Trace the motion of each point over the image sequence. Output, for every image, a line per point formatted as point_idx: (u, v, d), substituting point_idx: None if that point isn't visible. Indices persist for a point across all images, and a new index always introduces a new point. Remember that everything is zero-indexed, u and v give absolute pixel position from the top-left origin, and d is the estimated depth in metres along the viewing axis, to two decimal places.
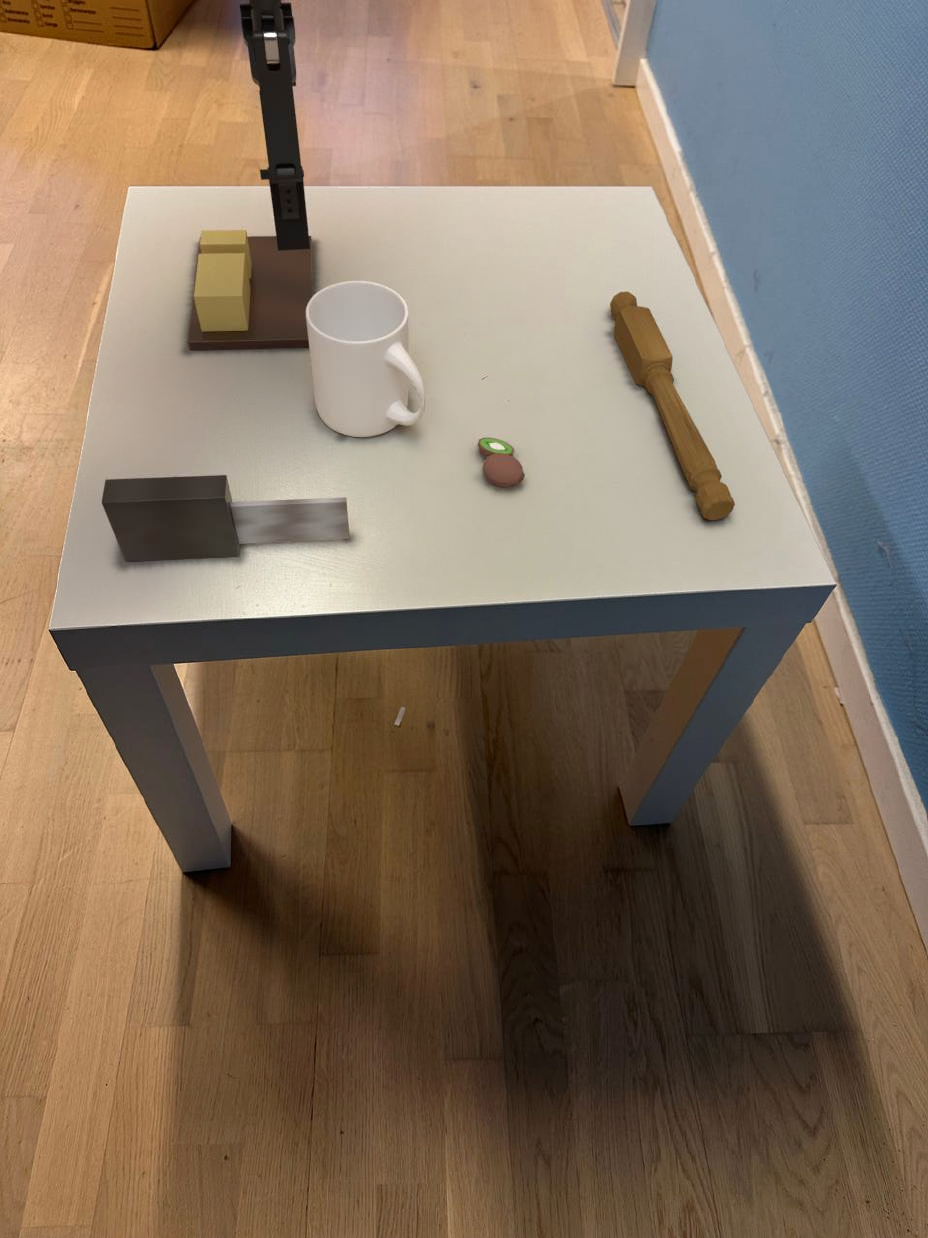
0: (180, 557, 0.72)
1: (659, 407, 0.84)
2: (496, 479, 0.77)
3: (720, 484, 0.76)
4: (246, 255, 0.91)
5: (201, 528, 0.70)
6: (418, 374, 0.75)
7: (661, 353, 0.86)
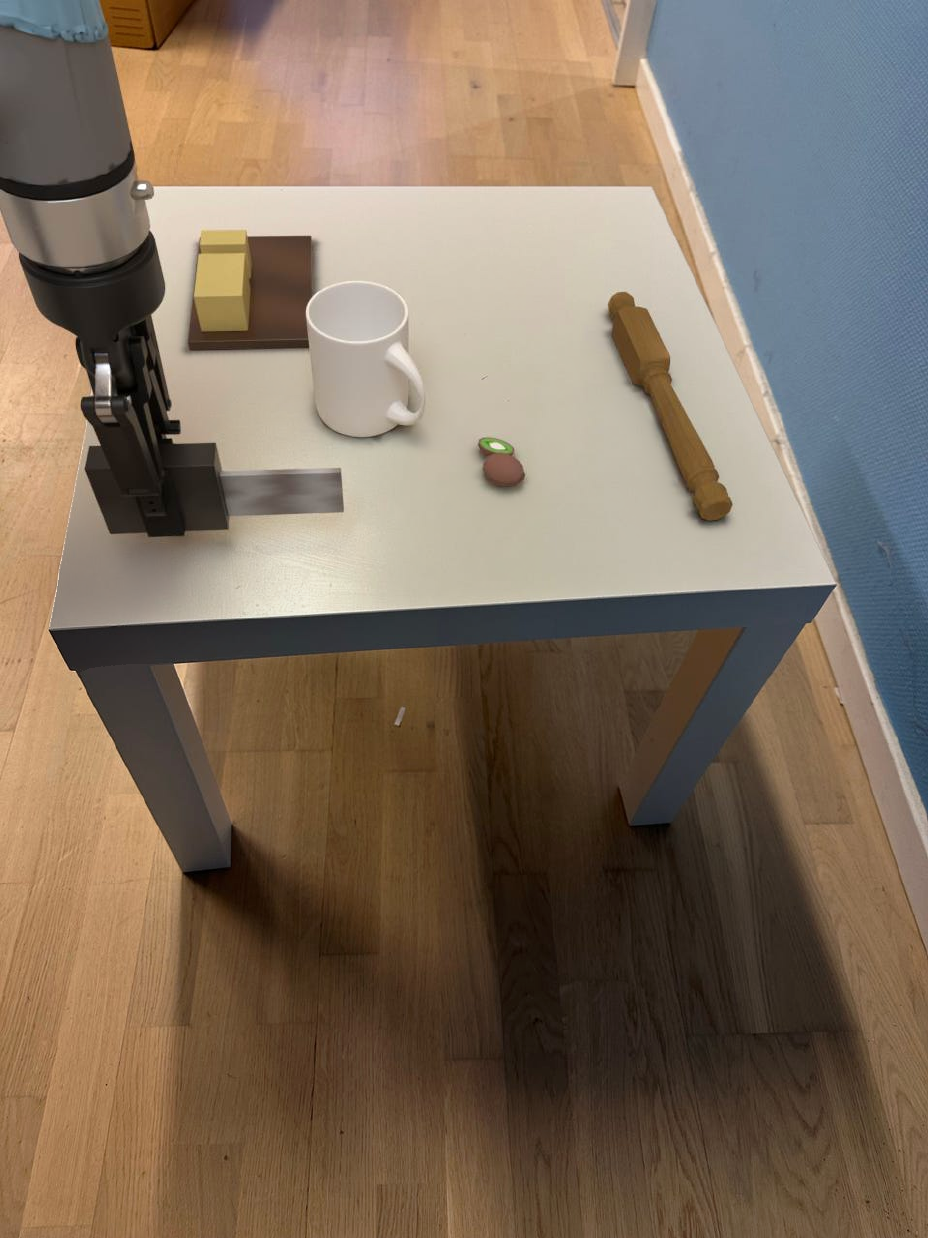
0: None
1: (657, 407, 0.84)
2: (496, 478, 0.77)
3: (718, 484, 0.76)
4: (246, 255, 0.91)
5: (189, 498, 0.67)
6: (418, 374, 0.75)
7: (659, 353, 0.86)
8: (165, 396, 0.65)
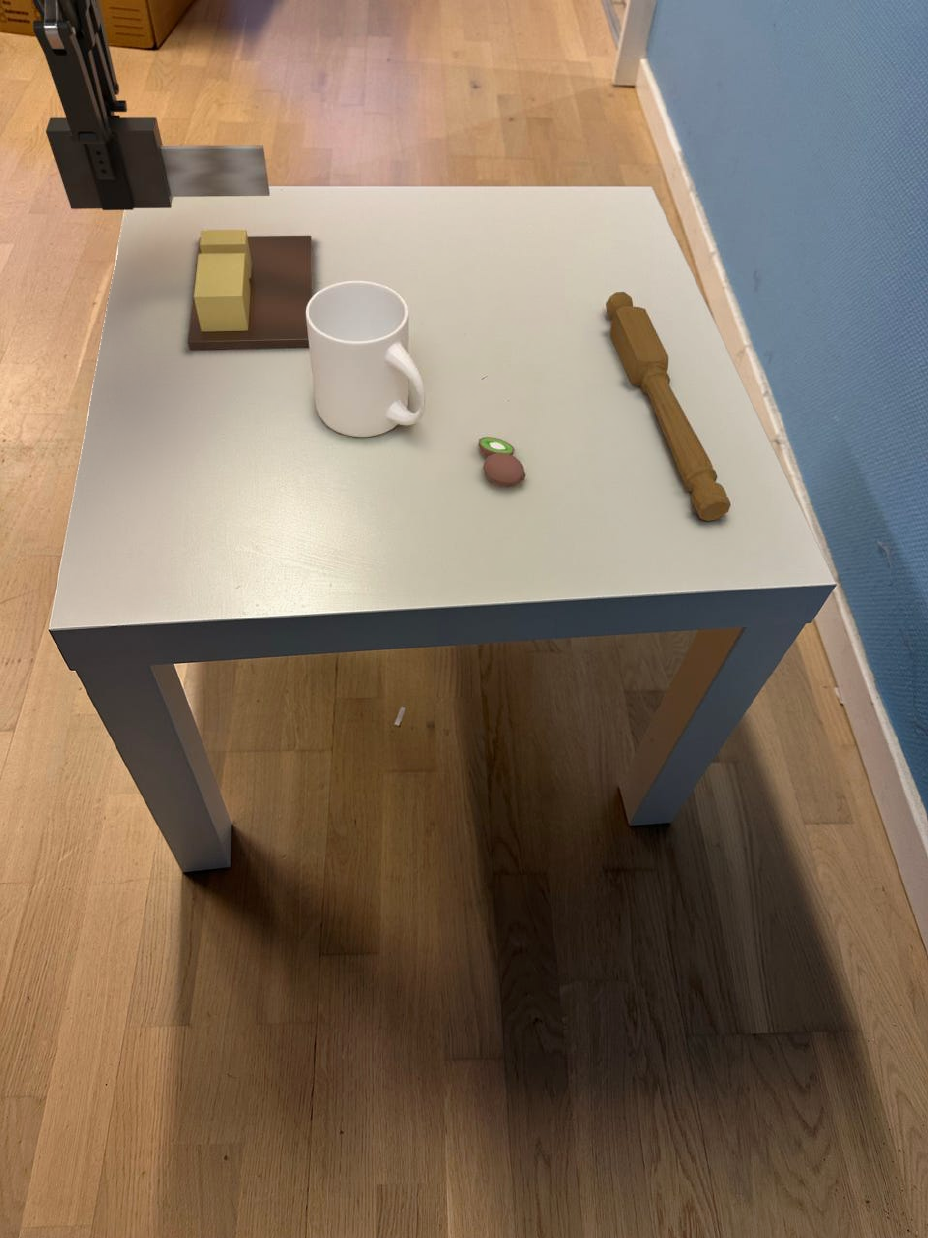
0: None
1: (655, 407, 0.84)
2: (497, 478, 0.77)
3: (716, 484, 0.76)
4: (246, 255, 0.91)
5: (135, 169, 0.80)
6: (418, 374, 0.75)
7: (657, 354, 0.86)
8: (112, 77, 0.78)
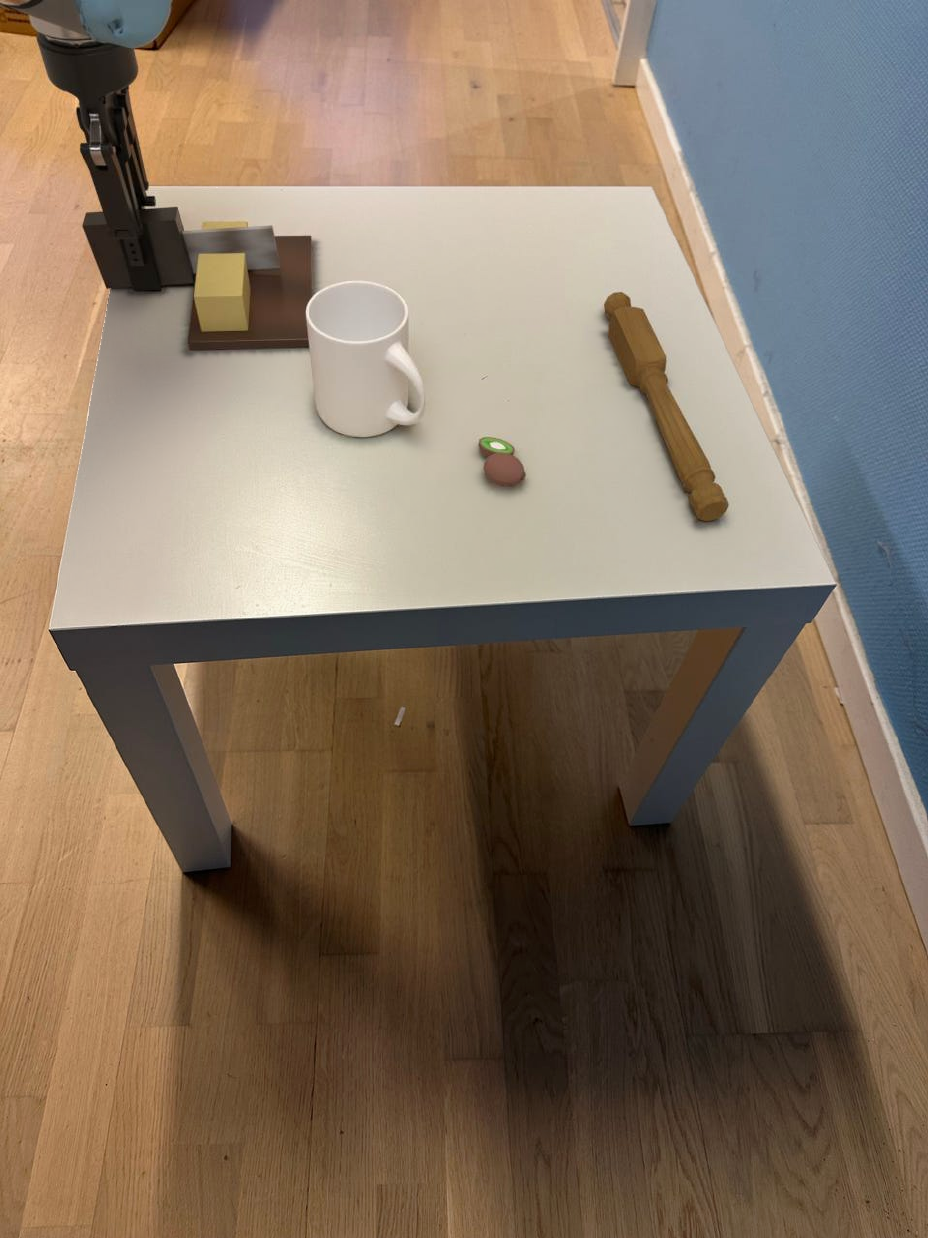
0: None
1: (653, 408, 0.84)
2: (497, 478, 0.77)
3: (714, 485, 0.76)
4: None
5: (161, 252, 0.90)
6: (418, 374, 0.75)
7: (655, 354, 0.86)
8: (143, 176, 0.89)
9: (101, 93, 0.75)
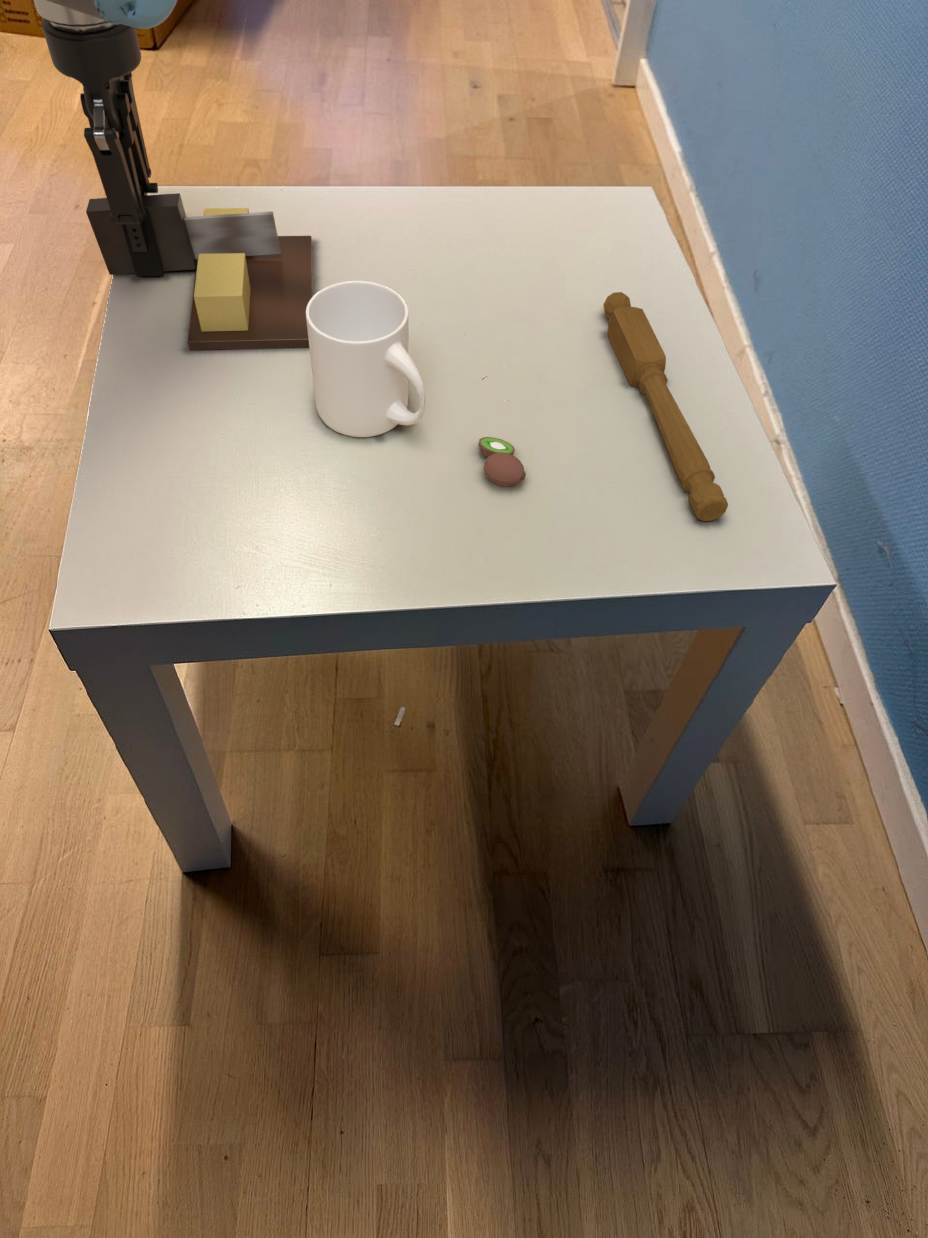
0: None
1: (652, 408, 0.84)
2: (497, 478, 0.77)
3: (713, 485, 0.76)
4: None
5: (163, 238, 0.91)
6: (418, 374, 0.75)
7: (654, 354, 0.86)
8: (146, 163, 0.90)
9: (105, 79, 0.77)
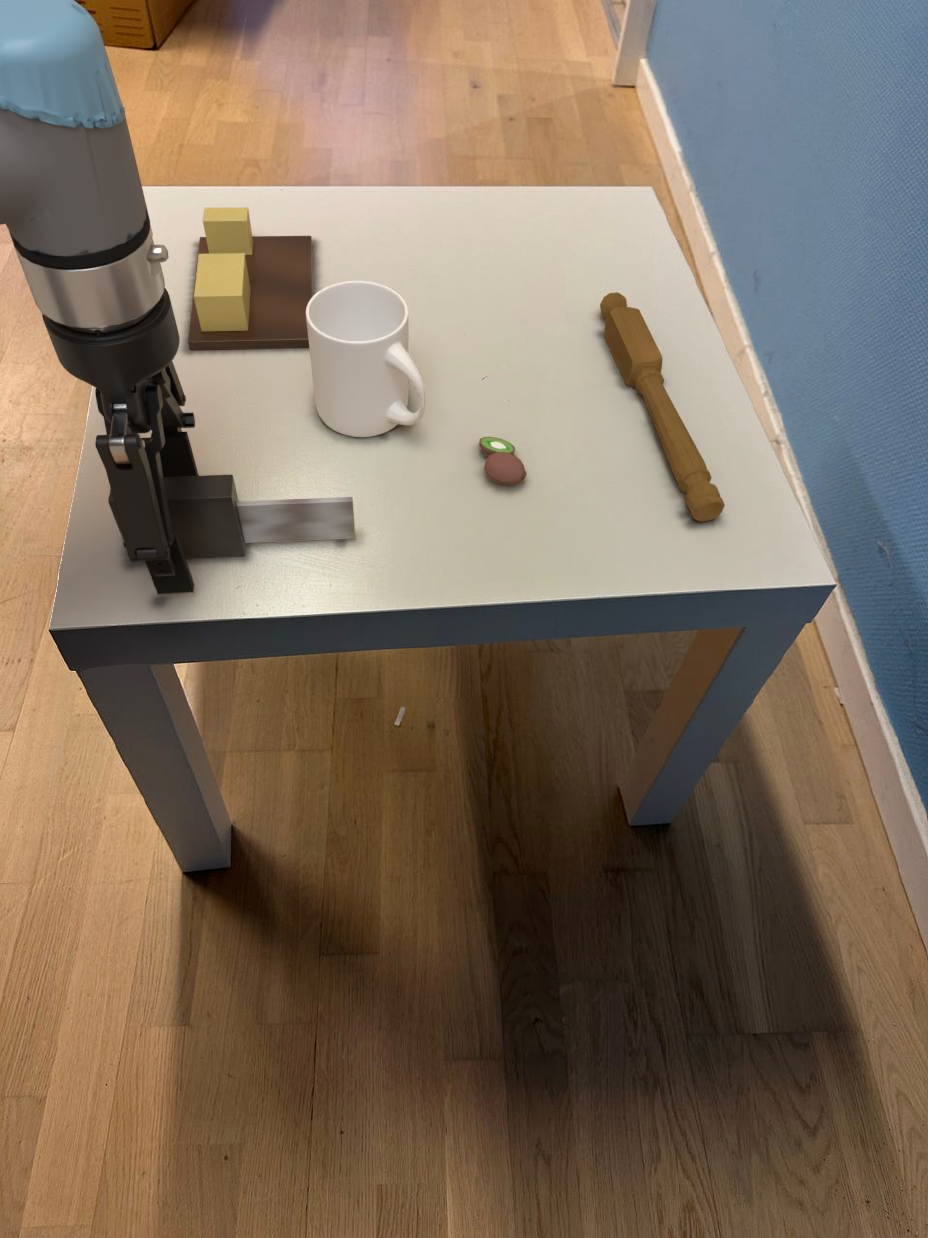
0: (186, 556, 0.72)
1: (649, 408, 0.84)
2: (498, 478, 0.78)
3: (710, 485, 0.76)
4: (248, 232, 0.93)
5: (207, 528, 0.70)
6: (418, 374, 0.75)
7: (651, 354, 0.86)
8: (180, 396, 0.69)
9: None
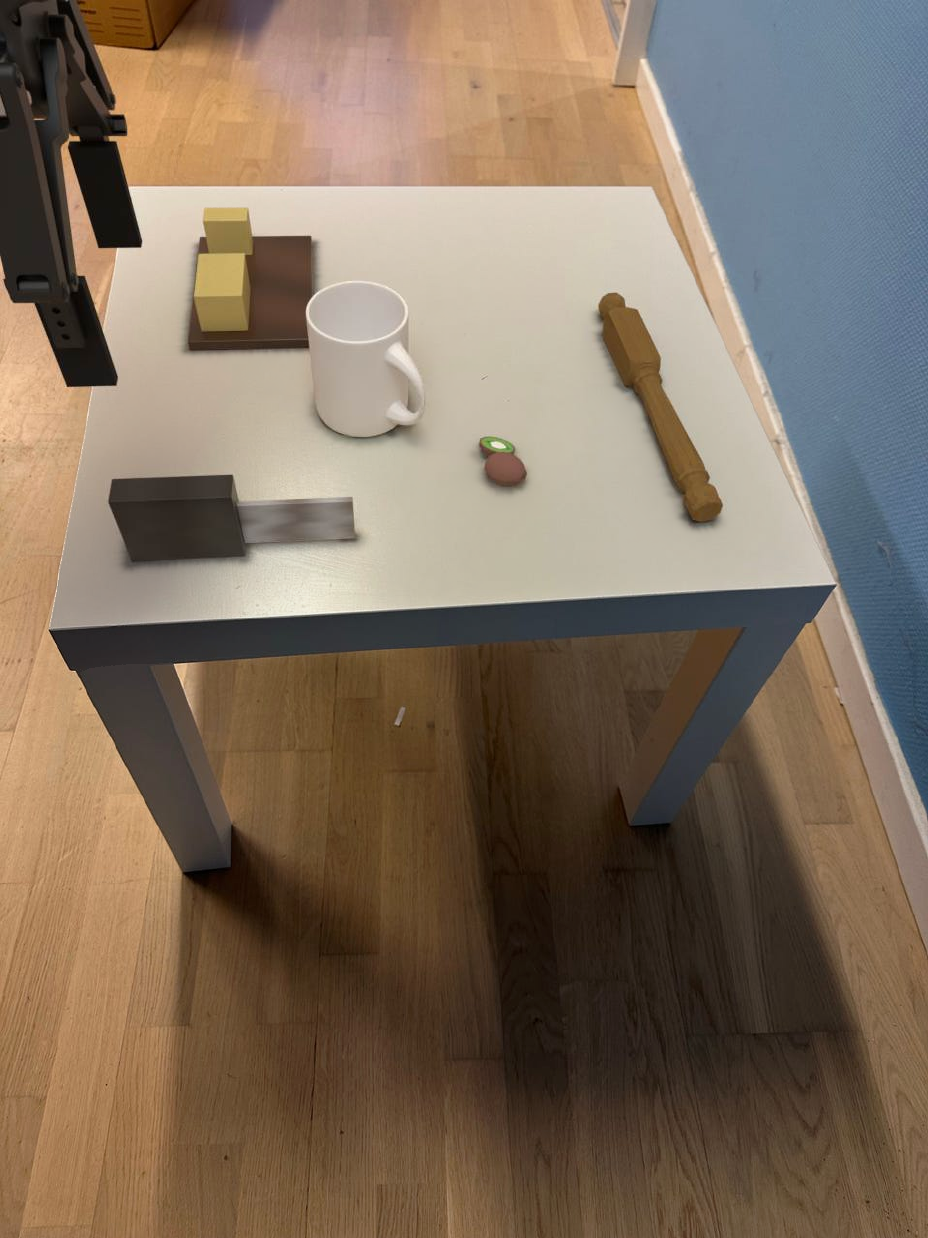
0: (186, 556, 0.72)
1: (647, 408, 0.84)
2: (498, 478, 0.78)
3: (708, 485, 0.76)
4: (248, 232, 0.93)
5: (207, 528, 0.70)
6: (418, 374, 0.75)
7: (649, 354, 0.86)
8: (107, 95, 0.53)
9: None
